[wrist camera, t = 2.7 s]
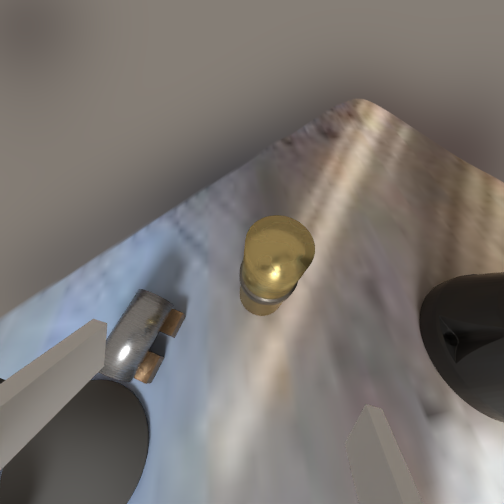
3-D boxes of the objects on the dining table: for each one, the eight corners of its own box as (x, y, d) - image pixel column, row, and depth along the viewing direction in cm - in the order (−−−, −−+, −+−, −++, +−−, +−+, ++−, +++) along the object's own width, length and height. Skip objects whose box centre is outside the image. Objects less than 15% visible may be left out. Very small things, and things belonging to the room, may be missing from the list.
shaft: (150, 384, 22) (130, 387, 18) (103, 362, 23) (72, 359, 18) (186, 315, 26) (176, 303, 21) (144, 297, 26) (125, 281, 22)
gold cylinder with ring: (293, 295, 28) (332, 247, 17) (261, 327, 26) (282, 296, 15) (261, 264, 29) (278, 201, 18) (228, 292, 27) (226, 241, 16)
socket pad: (174, 454, 20) (173, 455, 20) (40, 598, 16) (36, 603, 16) (108, 353, 23) (106, 353, 23) (-19, 453, 19) (-23, 455, 19)
